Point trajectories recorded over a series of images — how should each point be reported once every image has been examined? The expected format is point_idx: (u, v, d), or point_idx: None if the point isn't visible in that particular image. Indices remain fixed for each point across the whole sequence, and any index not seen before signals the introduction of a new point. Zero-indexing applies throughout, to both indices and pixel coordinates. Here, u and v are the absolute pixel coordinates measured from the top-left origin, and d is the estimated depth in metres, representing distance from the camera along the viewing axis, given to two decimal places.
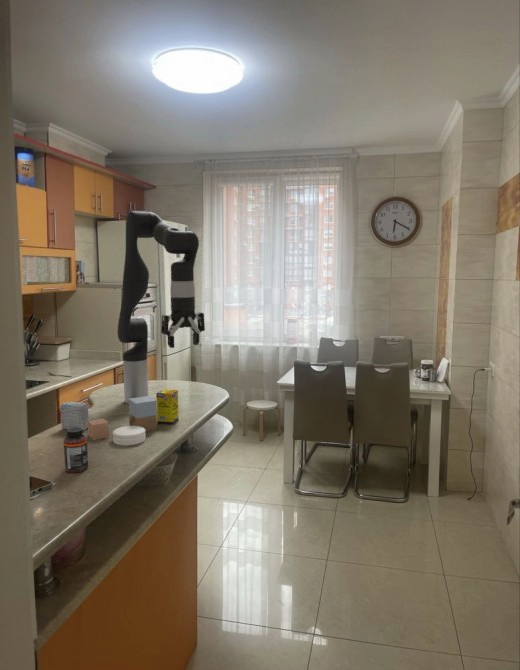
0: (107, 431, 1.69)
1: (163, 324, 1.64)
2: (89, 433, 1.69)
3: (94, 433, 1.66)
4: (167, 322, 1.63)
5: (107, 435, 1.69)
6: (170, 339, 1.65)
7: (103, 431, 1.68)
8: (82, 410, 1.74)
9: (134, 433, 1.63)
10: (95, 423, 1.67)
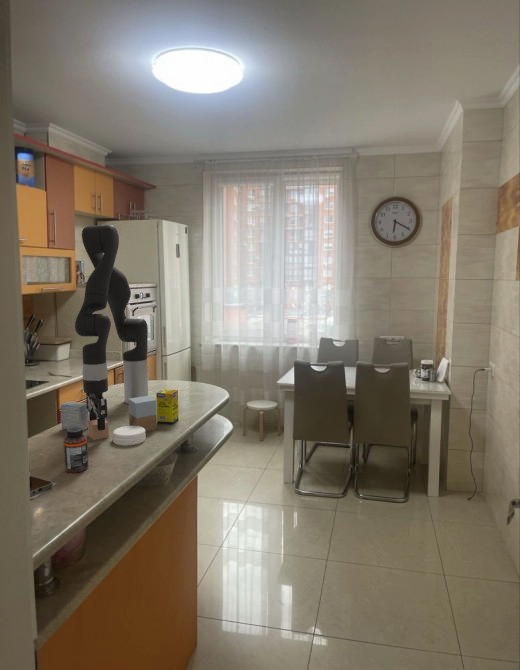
0: (107, 431, 1.69)
1: (103, 408, 1.62)
2: (89, 433, 1.69)
3: (94, 433, 1.66)
4: None
5: (107, 435, 1.69)
6: None
7: (103, 431, 1.68)
8: (82, 411, 1.74)
9: (134, 433, 1.63)
10: (95, 423, 1.67)
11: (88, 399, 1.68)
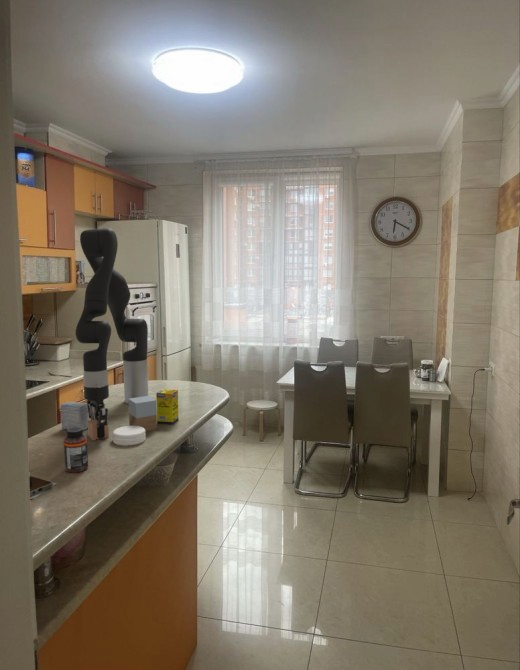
0: (107, 431, 1.69)
1: (104, 418, 1.64)
2: (89, 433, 1.69)
3: (94, 433, 1.66)
4: None
5: (107, 435, 1.69)
6: None
7: None
8: (82, 411, 1.74)
9: (134, 433, 1.63)
10: (95, 423, 1.67)
11: (89, 406, 1.69)
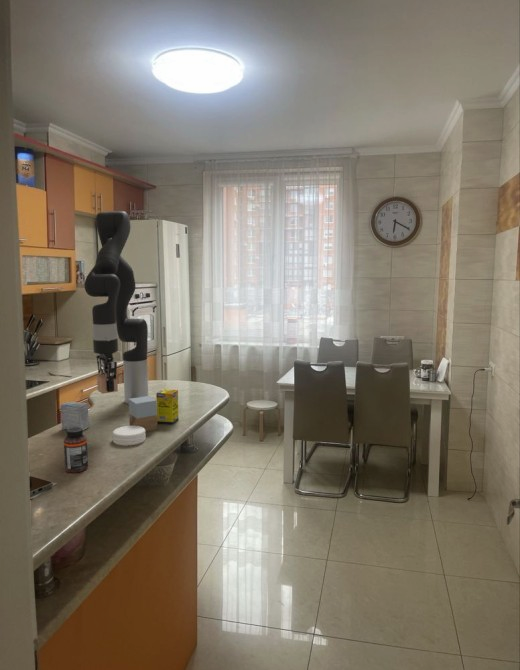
0: (116, 385, 1.69)
1: (113, 371, 1.64)
2: (98, 387, 1.70)
3: (103, 386, 1.67)
4: None
5: (116, 389, 1.69)
6: None
7: None
8: (82, 411, 1.74)
9: (134, 433, 1.63)
10: (104, 377, 1.68)
11: (98, 360, 1.69)
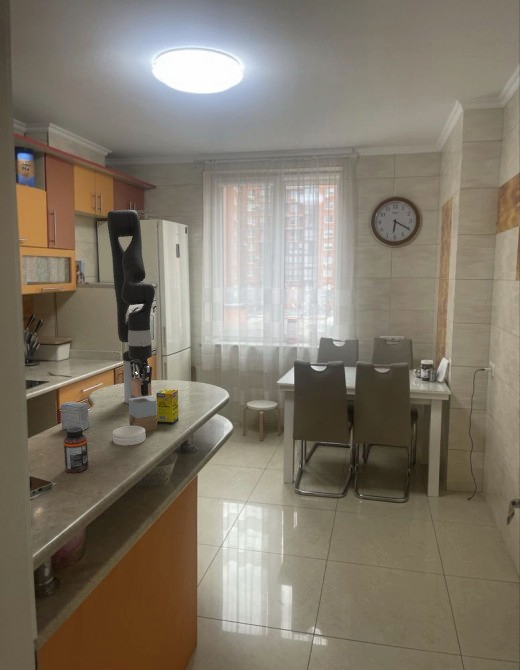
0: (150, 389, 1.75)
1: (148, 375, 1.70)
2: (132, 391, 1.76)
3: (138, 390, 1.73)
4: None
5: (150, 393, 1.75)
6: None
7: None
8: (82, 411, 1.74)
9: (134, 433, 1.63)
10: (139, 381, 1.74)
11: (133, 365, 1.75)
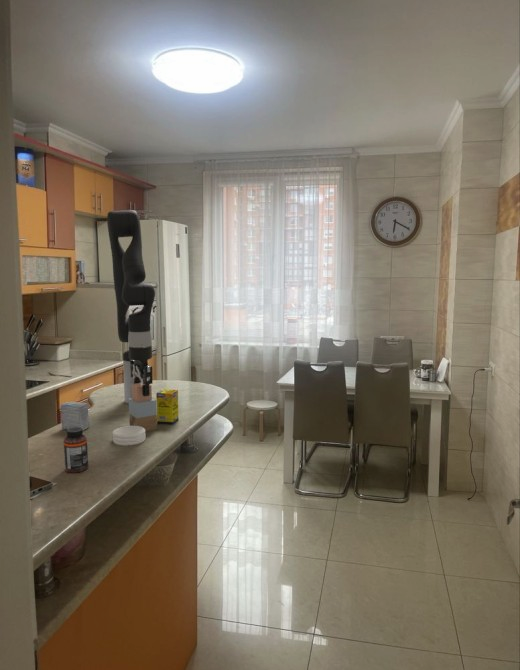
0: (150, 393, 1.76)
1: (149, 375, 1.70)
2: (133, 395, 1.76)
3: (138, 395, 1.73)
4: None
5: (150, 397, 1.76)
6: None
7: None
8: (82, 411, 1.74)
9: (134, 433, 1.63)
10: (139, 386, 1.74)
11: (133, 366, 1.75)
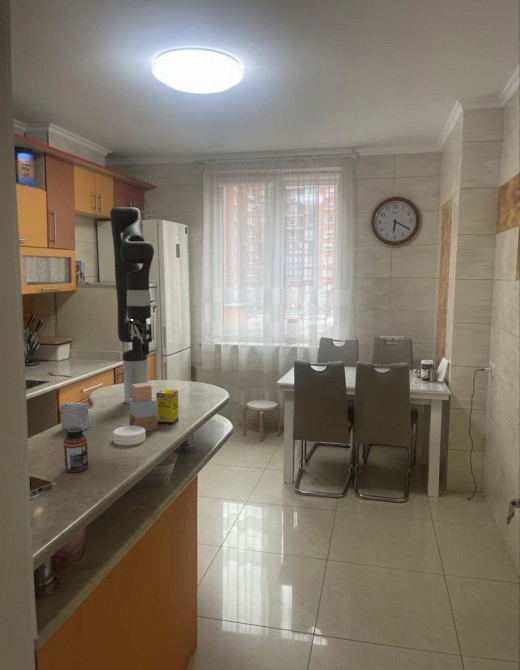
0: (150, 394, 1.76)
1: (148, 332, 1.68)
2: (133, 396, 1.76)
3: (138, 395, 1.73)
4: None
5: (150, 398, 1.76)
6: None
7: (147, 394, 1.75)
8: (82, 411, 1.74)
9: (134, 433, 1.63)
10: (139, 386, 1.74)
11: (132, 326, 1.73)
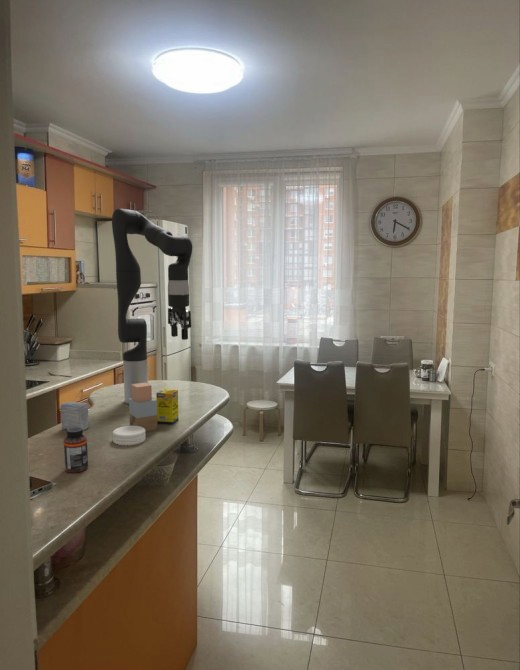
0: (150, 394, 1.76)
1: (188, 319, 1.84)
2: (133, 396, 1.76)
3: (138, 395, 1.73)
4: None
5: (150, 398, 1.76)
6: None
7: (147, 394, 1.75)
8: (82, 411, 1.74)
9: (134, 433, 1.63)
10: (139, 386, 1.74)
11: (172, 313, 1.90)
